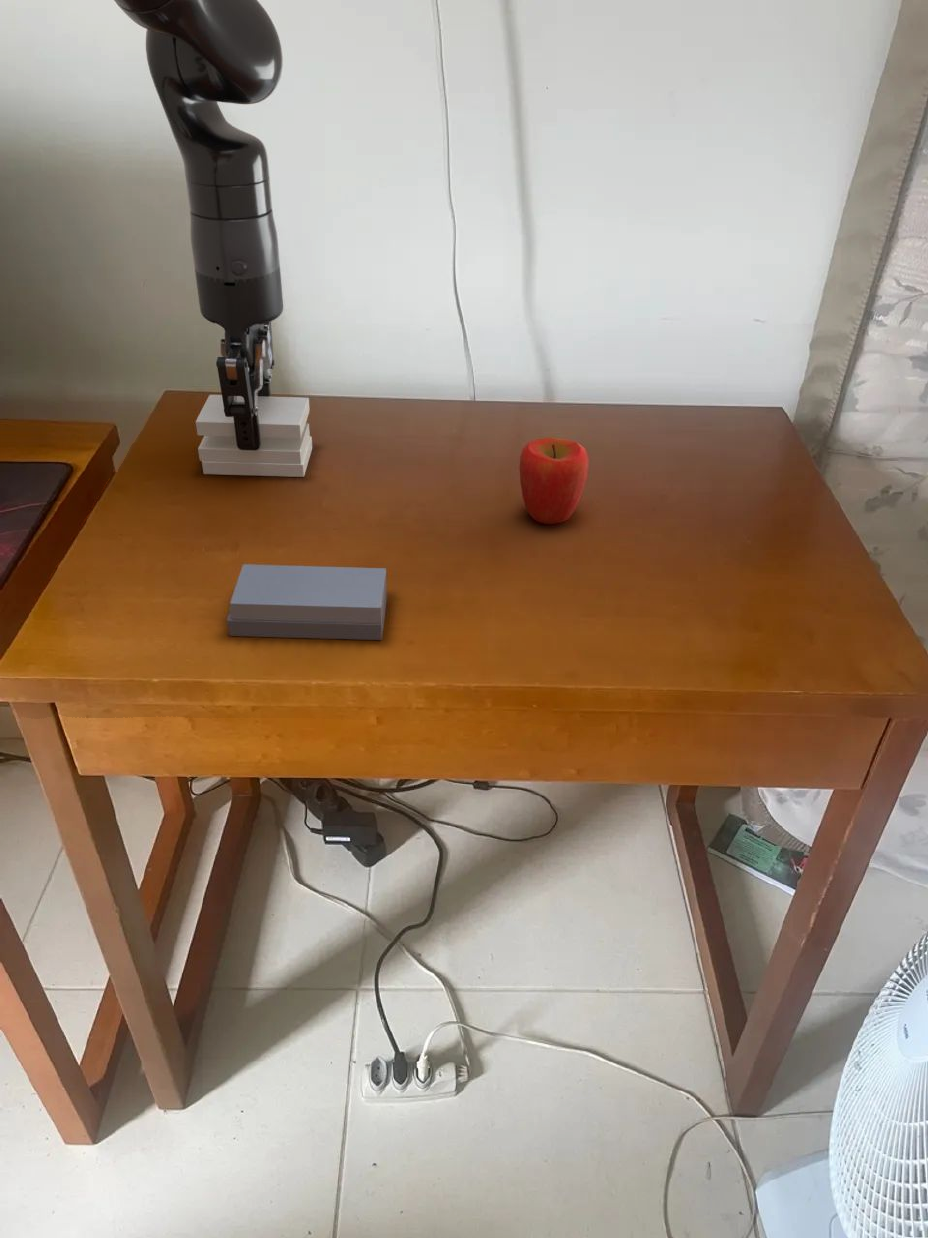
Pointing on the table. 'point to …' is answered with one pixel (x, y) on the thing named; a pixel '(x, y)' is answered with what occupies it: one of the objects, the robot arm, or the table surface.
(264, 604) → the grey books
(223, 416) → the white book
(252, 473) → the white books
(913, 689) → the table surface
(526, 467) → the apple
